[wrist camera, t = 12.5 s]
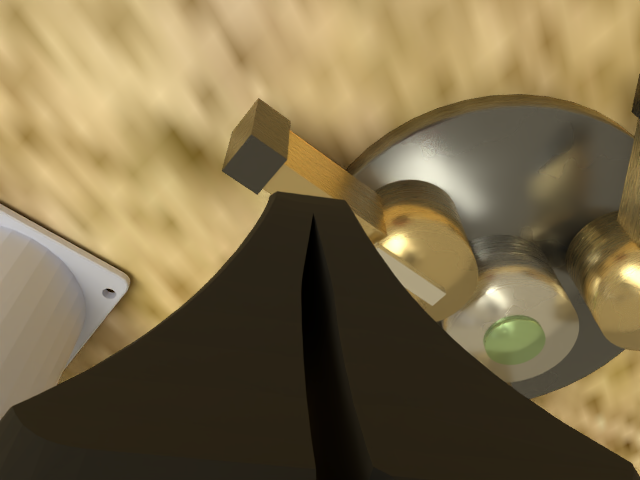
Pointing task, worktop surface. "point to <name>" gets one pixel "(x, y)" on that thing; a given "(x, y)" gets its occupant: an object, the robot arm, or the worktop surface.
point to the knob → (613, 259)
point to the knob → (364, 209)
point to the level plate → (517, 223)
